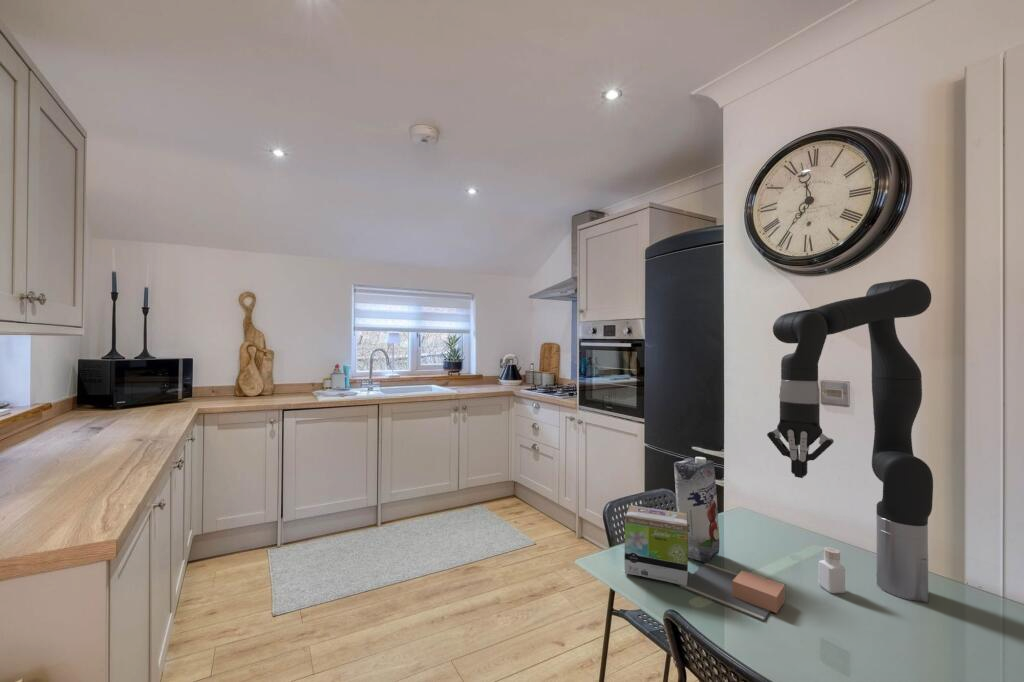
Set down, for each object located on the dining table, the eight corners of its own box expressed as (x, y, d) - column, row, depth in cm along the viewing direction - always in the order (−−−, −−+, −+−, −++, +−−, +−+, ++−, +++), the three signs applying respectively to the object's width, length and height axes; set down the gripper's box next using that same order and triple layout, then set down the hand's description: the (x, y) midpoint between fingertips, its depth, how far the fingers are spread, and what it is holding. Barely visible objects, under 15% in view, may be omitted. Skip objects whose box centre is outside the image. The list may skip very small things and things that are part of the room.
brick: (784, 584, 98) (741, 570, 104) (776, 597, 93) (732, 580, 99) (784, 600, 98) (741, 584, 104) (776, 613, 93) (732, 596, 99)
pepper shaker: (846, 594, 101) (846, 553, 102) (830, 594, 101) (830, 554, 101) (832, 584, 105) (832, 546, 106) (817, 585, 105) (817, 546, 105)
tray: (782, 592, 102) (782, 589, 102) (763, 621, 91) (763, 619, 91) (705, 564, 115) (705, 562, 115) (679, 587, 103) (679, 585, 103)
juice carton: (675, 555, 119) (669, 457, 121) (692, 544, 126) (686, 452, 128) (707, 565, 113) (700, 461, 115) (723, 553, 120) (717, 455, 122)
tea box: (623, 575, 108) (623, 515, 109) (628, 558, 117) (628, 503, 118) (688, 587, 102) (687, 524, 103) (687, 569, 111) (687, 511, 112)
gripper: (838, 401, 95) (838, 480, 95) (770, 396, 105) (770, 467, 104) (832, 404, 90) (832, 487, 89) (761, 398, 99) (761, 473, 99)
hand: (799, 476), depth 97 cm, fingers closed
